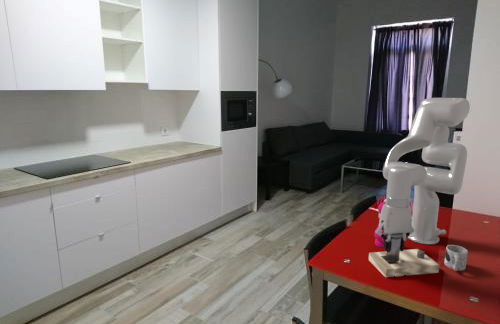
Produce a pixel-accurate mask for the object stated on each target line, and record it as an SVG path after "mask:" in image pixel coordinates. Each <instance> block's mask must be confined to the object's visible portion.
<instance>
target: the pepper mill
mask: <svg viewBox="0 0 500 324" xmlns="http://www.w3.org/2000/svg"><path fill="white" fill-rule="evenodd" d="M384 204H386V198H385V199H384V201H383V202H381V203H380V204H378V206H377V211H378V219H380V215H381V210H382V207H383V205H384ZM378 227H379V224H378V225H377V227H376V229H375V230H374V238H375V239H374V245H375V246H377V247H379V248H381V249H384V248H383V243H384V239H383V238H382V237H381V236H380V235H378V234H377V233H376V232H375V231H376V230H377V229H378ZM382 233H384V230H383V231H382Z"/></svg>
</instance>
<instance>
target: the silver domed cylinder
mask: <svg viewBox="0 0 500 324" xmlns="http://www.w3.org/2000/svg"><path fill="white" fill-rule="evenodd" d="M402 237H403V234H402V233H399V234H391V237H390V242H391V247H390V252H386V258H387V259H388V260H391V261H399V257H400V246H401V238H402Z"/></svg>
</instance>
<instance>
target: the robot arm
mask: <svg viewBox="0 0 500 324" xmlns="http://www.w3.org/2000/svg"><path fill="white" fill-rule="evenodd" d="M470 105H471V104H470V102H469V100H468V99H467V98H463V97H428V98H425V99H423V100H422V101H421V102H420V106H419V107H418V108H417V109H416V113H415V116H414V118H413V121H412V124H411V127H410V129H409V133H408V135H407V136H406V137H404V138H403V139H401V140H400V141H399V142H397V143H396V144H395V145H394V146H393V147H392V148H391V149H390V150H389V152H388V154H387V155H386V158H385V162H384V165H383V168H382V175H383V178H384V179H386V180H387V185H386V195H385V196H386V197H385V199H386V204H384V205H383V207H382V210H381V215H380V218H379V221H378V222H379V223H378V225H379V227H378V226H377V227H378V229H377V230H376V229H375V230H376V231H375V230H374V233H375V232H376V233H377V234H378V235H380V236H381V237H382V238H383V239H384V243H383V248H382V249H383V250H384V251H387V252H390V247H391V242H390V237H391V234H399V233H402V234H403V237H402V238H401V246H400V251H403V250H405V249H404V248H405V242H407V239H409V240H411V241H412V242H415V243H418V244H422V245H437V244H438V243H439V242H440V237H439V236H440V235H446V234H447V231H446V230H445V229H440V228H438V227H437V225H438V224H437V223H438V217H439V207H440V199H439V197H438V194H437V193H442V194H447V195H456V194H459V193H460V191H461V190H462V186H463V183H464V182H463V181H464V176H465V170H466V165H467V159H468V151H467V147H466V146H465V145H463V144H461V143H456V142H449V137H450V128H449V127H452V128H453V127H456V126H458V125H459V124H460V123H462V122H463V121H465V120H466V118H467V117H468V115H469V112H470V111H471V110H470V108H471V106H470ZM421 149H422V152H421V159H422V161H423V162H424V163H426V164H428V165H429V164H430V165H434V166H435V165H436V166H442V167H443V166H444V167H449V168H450V169H447V168H445V169H444V168H439V167H433V166H432V167H431V166H423V165H420V164H416V163H410V162H403V161H399V160H400V158H401V157H403V155H405V154H407V153H410V152H414V151H417V150H421ZM412 187H414V191H413V192H414V193H413V194H414V195H413V198H412V197H411V193H412V192H411V190H412ZM436 192H437V193H436ZM411 202H413V203H412V205H413V206H412V207H411V205H410V204H411ZM383 230H384V233H382V231H383Z"/></svg>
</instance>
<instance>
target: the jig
mask: <svg viewBox="0 0 500 324" xmlns="http://www.w3.org/2000/svg"><path fill="white" fill-rule="evenodd" d="M386 252H387V251H386V250H384V251H377V252H376V251H374V252H369V253H368V261H369V262H370V263H371V264H372V265H373V266H374V267H375V268H376V269H377V270H378V272H380V273H381V274H382V276H383V277H385V278H394V276H395V277H403V276H404V275H406V276H415V275H427V274H437V273H440V272H439V271H440V264H439V263H438V262H436V261H435V260H434V259H432V258H431V257H429V256H428V255H427V254H426V253H425V251H423V250H420V249H419V248H414V249H413V248H412V249H403V251H400V257H399V261H391V260H388V259H387V258H386ZM404 277H405V276H404Z"/></svg>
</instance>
